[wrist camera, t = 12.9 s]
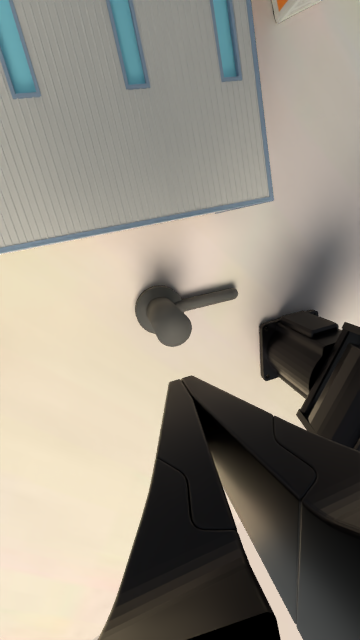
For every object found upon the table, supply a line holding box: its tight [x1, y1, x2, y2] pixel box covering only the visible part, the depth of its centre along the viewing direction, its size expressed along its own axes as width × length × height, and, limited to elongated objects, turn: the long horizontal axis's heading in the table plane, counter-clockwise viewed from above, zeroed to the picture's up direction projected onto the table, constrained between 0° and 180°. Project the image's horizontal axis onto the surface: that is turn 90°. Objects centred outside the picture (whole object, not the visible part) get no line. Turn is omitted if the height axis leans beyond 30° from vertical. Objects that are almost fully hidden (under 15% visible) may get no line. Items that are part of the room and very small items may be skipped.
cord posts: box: [135, 286, 238, 347], centre depth 18 cm, size 8×24×5 cm, turn 99°
